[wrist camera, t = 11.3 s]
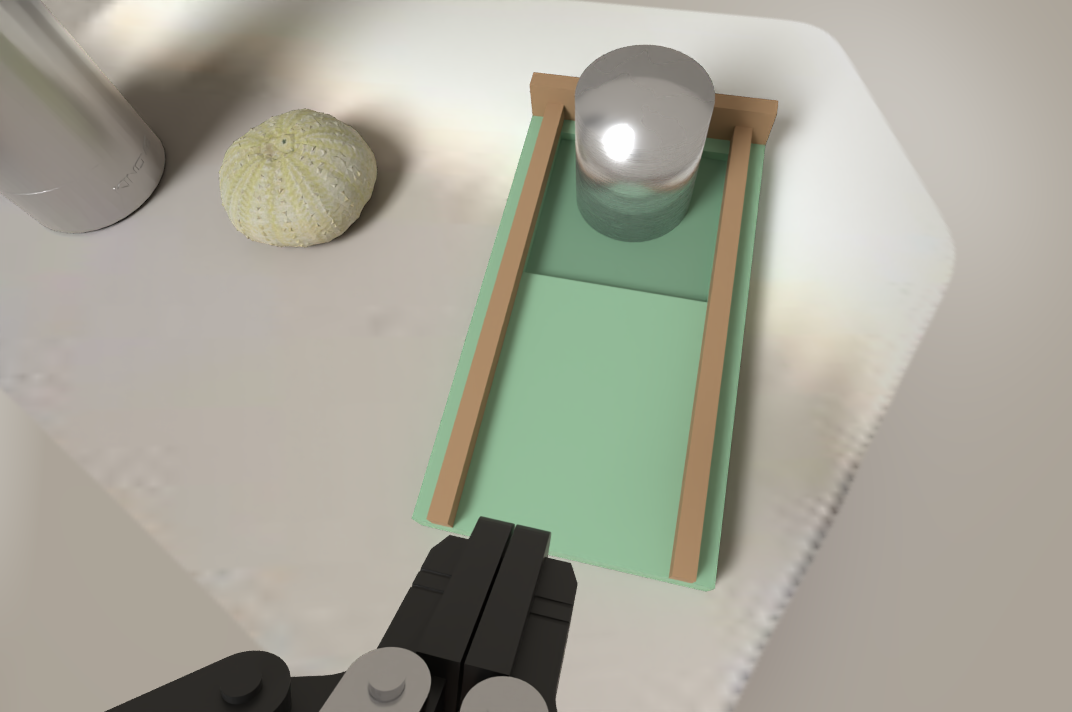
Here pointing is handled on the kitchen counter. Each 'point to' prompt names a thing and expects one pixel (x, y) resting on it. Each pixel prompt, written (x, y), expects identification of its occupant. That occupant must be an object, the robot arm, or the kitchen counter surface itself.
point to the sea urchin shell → (297, 179)
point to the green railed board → (605, 360)
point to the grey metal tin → (639, 140)
